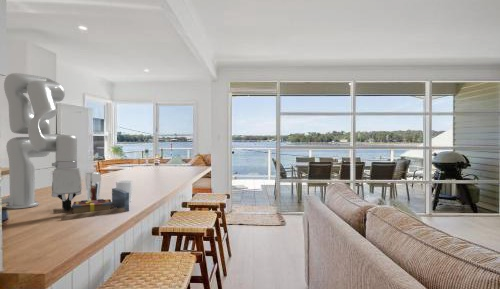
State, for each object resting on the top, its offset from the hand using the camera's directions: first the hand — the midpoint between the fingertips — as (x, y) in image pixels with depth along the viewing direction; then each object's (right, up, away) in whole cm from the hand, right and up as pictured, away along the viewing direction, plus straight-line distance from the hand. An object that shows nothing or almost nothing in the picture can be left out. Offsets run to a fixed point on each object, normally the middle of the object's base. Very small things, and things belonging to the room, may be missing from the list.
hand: (66, 210), depth 136 cm
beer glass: (+1, -2, +22) cm, 22 cm away
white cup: (+13, -2, +29) cm, 32 cm away
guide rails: (+7, -2, +6) cm, 9 cm away
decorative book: (+8, -3, +7) cm, 11 cm away
